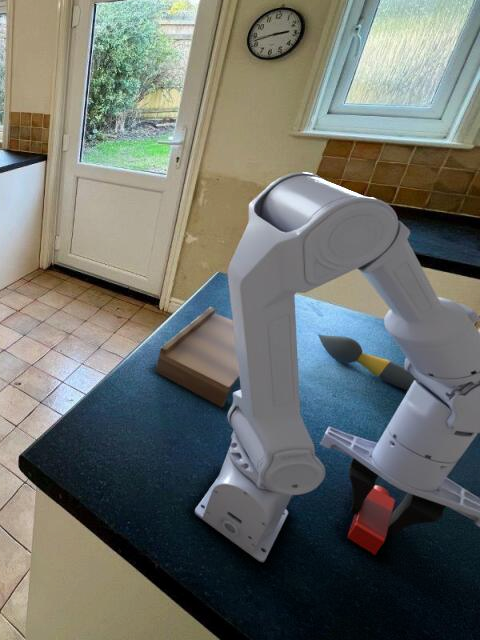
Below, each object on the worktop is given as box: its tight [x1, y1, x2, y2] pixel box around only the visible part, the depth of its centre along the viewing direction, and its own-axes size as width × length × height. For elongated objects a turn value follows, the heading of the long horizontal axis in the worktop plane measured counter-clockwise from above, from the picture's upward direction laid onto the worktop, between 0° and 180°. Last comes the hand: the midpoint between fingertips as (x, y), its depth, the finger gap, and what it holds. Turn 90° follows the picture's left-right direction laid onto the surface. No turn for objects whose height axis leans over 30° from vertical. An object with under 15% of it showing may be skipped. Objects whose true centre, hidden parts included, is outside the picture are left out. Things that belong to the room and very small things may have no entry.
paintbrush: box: [317, 333, 418, 392], centre depth 77 cm, size 20×5×5 cm, turn 38°
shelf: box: [154, 306, 240, 408], centre depth 80 cm, size 22×12×6 cm, turn 130°
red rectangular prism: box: [347, 484, 396, 556], centre depth 53 cm, size 10×3×3 cm, turn 130°
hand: (372, 518), depth 52 cm, fingers closed on red rectangular prism, 3 cm apart
